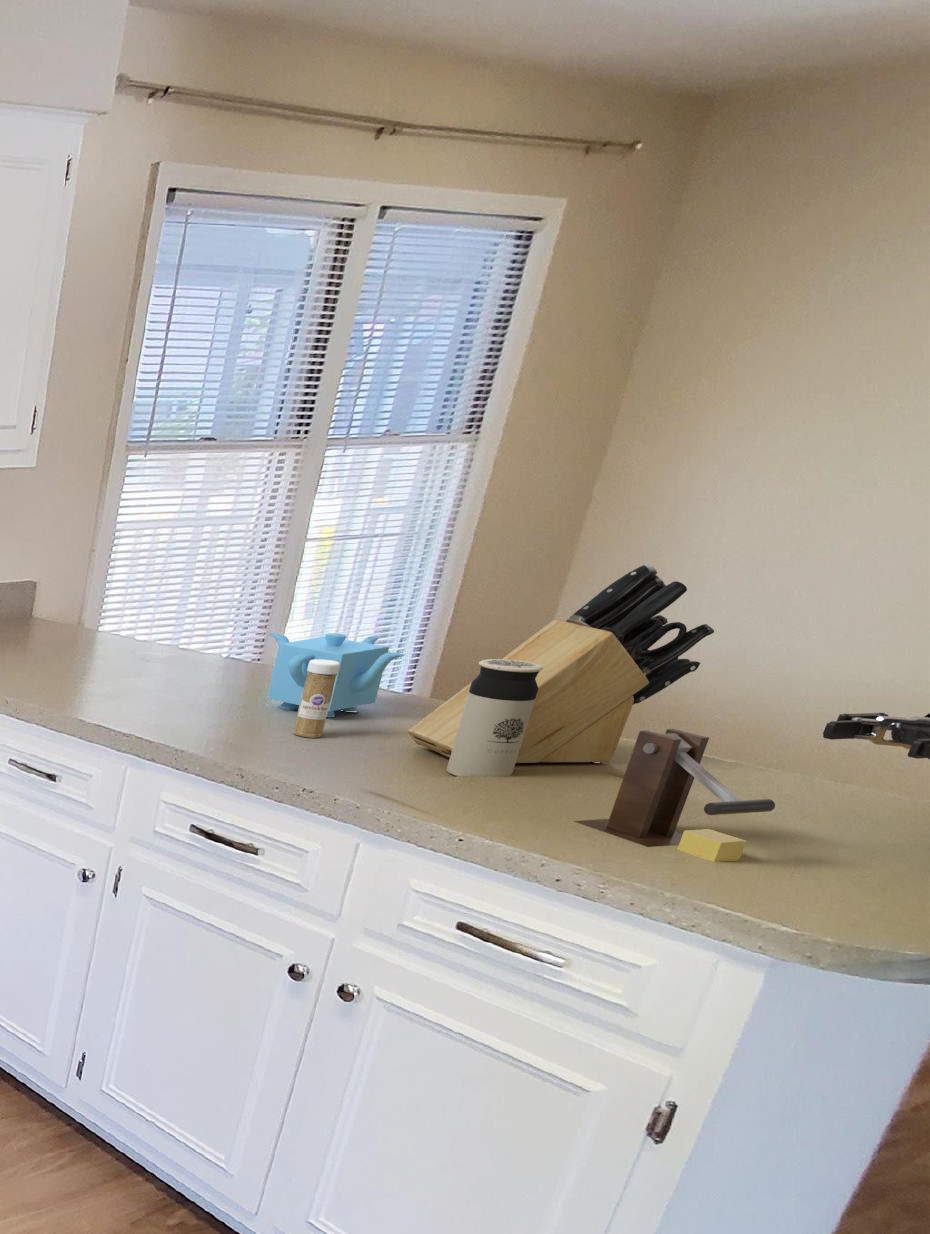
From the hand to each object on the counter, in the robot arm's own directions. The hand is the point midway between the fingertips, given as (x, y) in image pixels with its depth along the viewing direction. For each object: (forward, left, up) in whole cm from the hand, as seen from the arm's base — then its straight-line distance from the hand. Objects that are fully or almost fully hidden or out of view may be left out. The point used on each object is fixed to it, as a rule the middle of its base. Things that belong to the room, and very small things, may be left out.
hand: (870, 739), depth 136 cm
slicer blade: (+6, +14, -7) cm, 17 cm away
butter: (+2, +14, -16) cm, 22 cm away
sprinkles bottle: (+64, +18, -16) cm, 69 cm away
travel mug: (+38, +10, -16) cm, 43 cm away
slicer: (+10, +14, -16) cm, 24 cm away
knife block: (+46, -8, -16) cm, 49 cm away
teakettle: (+80, +2, -16) cm, 82 cm away
